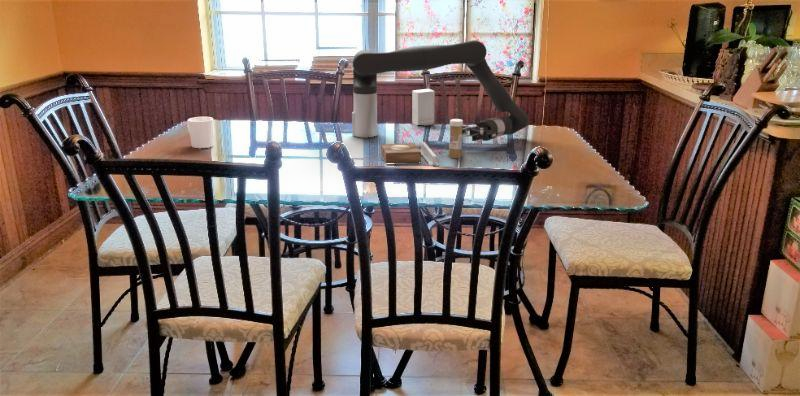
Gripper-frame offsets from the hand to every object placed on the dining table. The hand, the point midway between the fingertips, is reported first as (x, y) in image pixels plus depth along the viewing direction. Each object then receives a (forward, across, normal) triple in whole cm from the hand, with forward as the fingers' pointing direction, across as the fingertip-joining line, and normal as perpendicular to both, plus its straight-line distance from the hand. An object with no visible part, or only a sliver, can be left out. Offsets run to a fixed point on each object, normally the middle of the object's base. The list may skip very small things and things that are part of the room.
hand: (463, 136), depth 226 cm
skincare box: (-26, -43, +7) cm, 51 cm away
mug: (+61, -76, +8) cm, 97 cm away
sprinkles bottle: (+4, 0, +7) cm, 8 cm away
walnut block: (+20, -12, +7) cm, 24 cm away
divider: (+12, -6, +7) cm, 15 cm away
